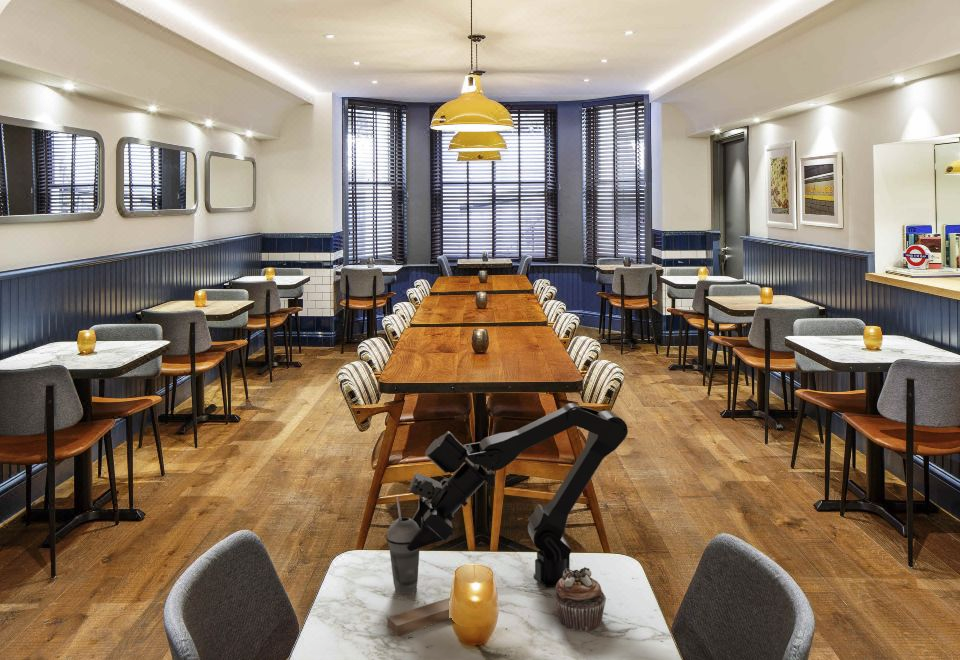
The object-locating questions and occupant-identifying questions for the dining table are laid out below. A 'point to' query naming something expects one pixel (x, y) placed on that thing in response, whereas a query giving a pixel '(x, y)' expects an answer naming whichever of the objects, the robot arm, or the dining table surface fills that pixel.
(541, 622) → the dining table surface
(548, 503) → the robot arm
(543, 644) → the dining table surface
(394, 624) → the walnut block
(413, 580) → the beverage cup
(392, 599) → the dining table surface
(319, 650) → the dining table surface
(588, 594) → the cupcake
